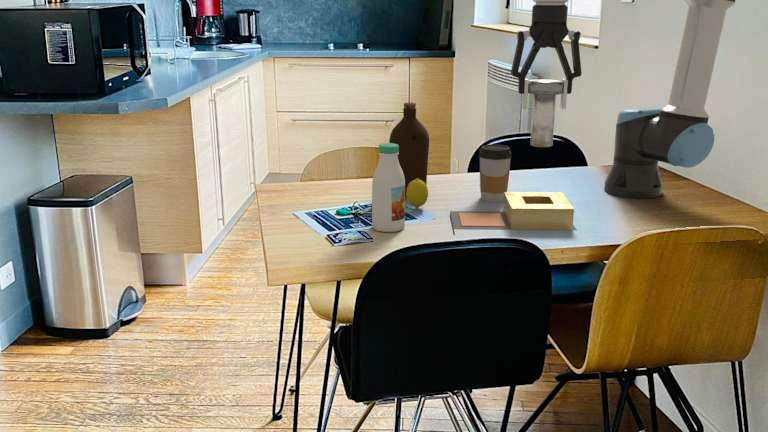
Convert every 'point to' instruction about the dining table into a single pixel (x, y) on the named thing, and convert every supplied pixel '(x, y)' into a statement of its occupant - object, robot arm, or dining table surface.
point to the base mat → (479, 220)
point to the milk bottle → (388, 191)
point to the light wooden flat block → (538, 211)
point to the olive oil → (411, 145)
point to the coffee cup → (494, 172)
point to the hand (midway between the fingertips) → (543, 108)
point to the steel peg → (543, 110)
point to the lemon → (417, 193)
